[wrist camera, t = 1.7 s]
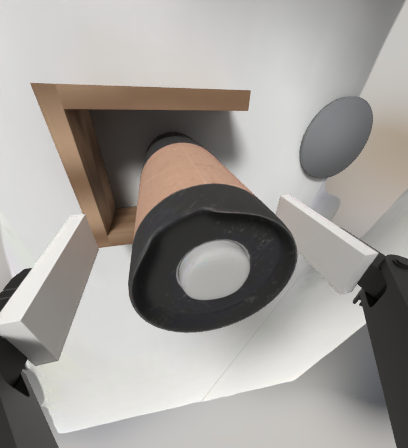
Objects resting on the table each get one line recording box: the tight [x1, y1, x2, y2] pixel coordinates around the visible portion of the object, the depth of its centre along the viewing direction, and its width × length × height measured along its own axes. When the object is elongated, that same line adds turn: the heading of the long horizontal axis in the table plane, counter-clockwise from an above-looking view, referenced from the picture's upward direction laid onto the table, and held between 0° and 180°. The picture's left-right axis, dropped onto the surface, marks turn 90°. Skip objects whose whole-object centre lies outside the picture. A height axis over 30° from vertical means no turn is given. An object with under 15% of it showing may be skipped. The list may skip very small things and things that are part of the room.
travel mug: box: [128, 132, 297, 333], centre depth 16 cm, size 8×8×20 cm
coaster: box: [300, 97, 373, 178], centre depth 27 cm, size 11×11×1 cm
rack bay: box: [30, 83, 251, 248], centre depth 21 cm, size 15×16×6 cm
